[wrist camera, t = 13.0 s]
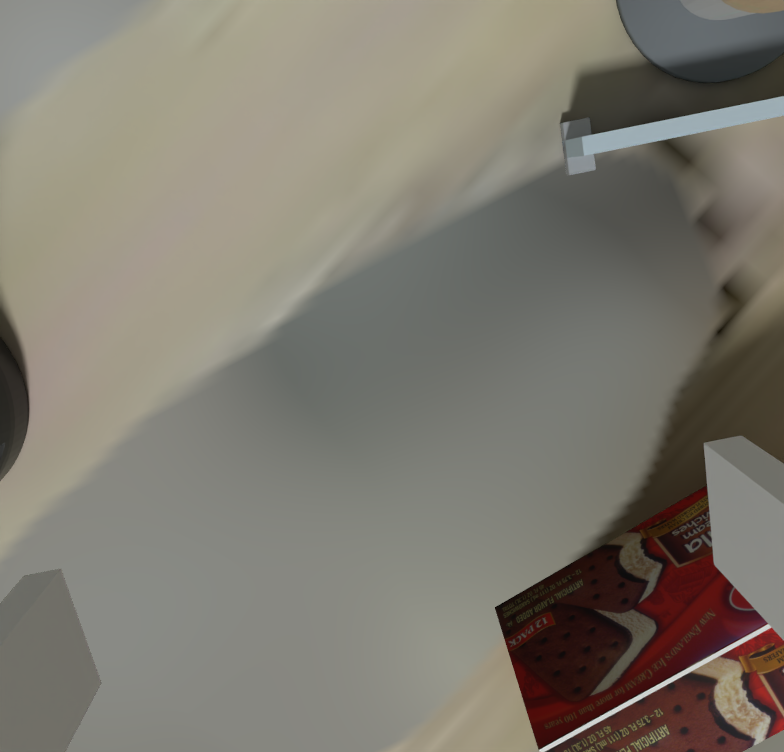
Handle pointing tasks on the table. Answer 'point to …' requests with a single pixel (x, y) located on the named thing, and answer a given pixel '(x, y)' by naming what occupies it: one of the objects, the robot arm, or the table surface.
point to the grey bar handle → (655, 131)
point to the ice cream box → (646, 647)
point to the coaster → (701, 40)
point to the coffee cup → (731, 8)
